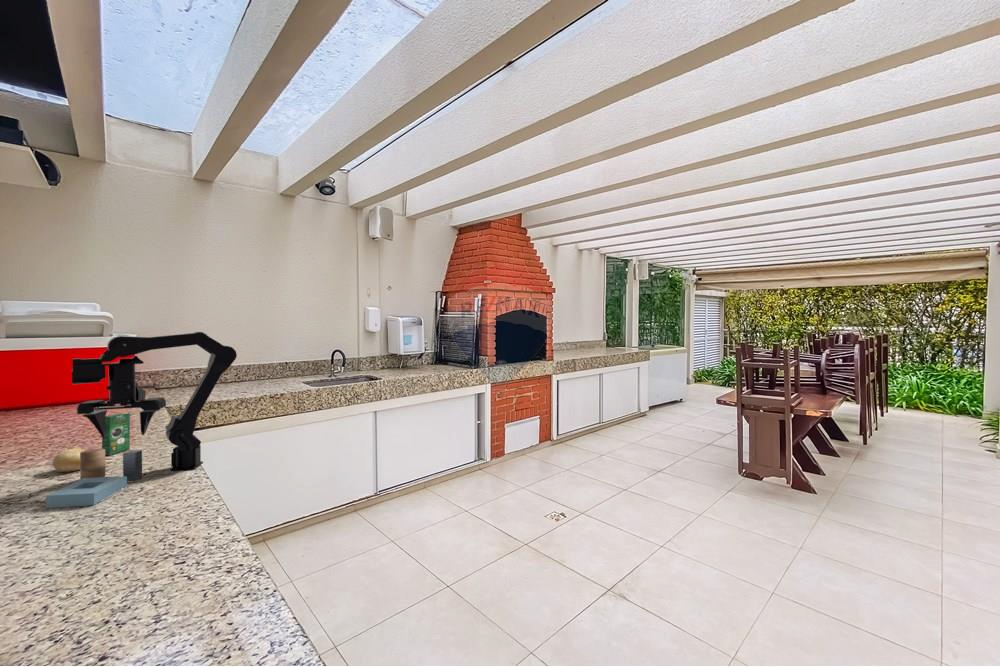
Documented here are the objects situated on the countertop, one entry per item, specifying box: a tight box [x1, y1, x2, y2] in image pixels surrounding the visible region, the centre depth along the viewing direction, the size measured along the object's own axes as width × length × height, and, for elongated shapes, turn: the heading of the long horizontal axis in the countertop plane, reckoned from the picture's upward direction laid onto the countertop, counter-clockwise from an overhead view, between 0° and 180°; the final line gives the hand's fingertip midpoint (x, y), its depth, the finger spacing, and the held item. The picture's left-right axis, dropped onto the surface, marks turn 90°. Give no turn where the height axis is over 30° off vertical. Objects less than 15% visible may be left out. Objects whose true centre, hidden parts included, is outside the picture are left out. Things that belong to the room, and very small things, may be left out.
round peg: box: [79, 448, 107, 480], centre depth 124 cm, size 5×5×8 cm
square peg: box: [122, 449, 143, 482], centre depth 124 cm, size 3×3×8 cm
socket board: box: [45, 475, 128, 509], centre depth 112 cm, size 10×12×3 cm
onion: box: [52, 445, 85, 473], centre depth 132 cm, size 8×8×7 cm
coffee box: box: [101, 412, 131, 456], centre depth 149 cm, size 8×3×13 cm, turn 178°
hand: (124, 435), depth 125 cm, fingers open, 9 cm apart
